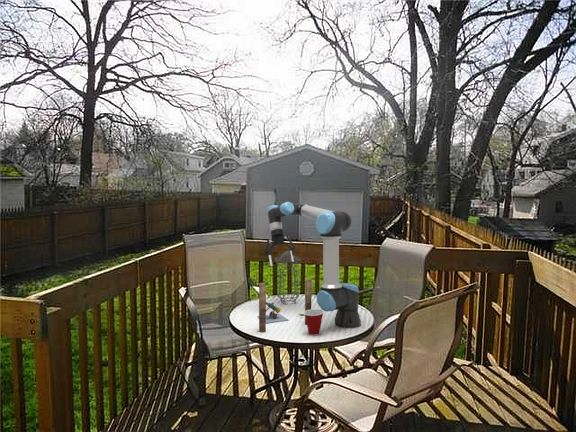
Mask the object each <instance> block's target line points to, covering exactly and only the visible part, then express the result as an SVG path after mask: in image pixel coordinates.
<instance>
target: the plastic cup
mask: <svg viewBox="0 0 576 432" xmlns="http://www.w3.org/2000/svg"><path fill="white" fill-rule="evenodd" d="M324 313H325V311H324V310H322V309H321V308H311V310H307V311H305V310H304V311H303V315H304V318H305V317H306V321H307V325H306V326H307V331H308V334H309V335H311V336H319V334H320V332H321V327H322V322H323V315H324Z"/></svg>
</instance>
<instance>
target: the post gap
mask: <svg viewBox="0 0 576 432" xmlns="http://www.w3.org/2000/svg"><path fill="white" fill-rule="evenodd" d="M304 282H305V283H304V285H305V286H304V312H305V311H307V310H311V309H312V285H313V284H312V283H313V279H312V278H305V279H304ZM258 294H259V295H258V316H259V318H258V332H260V333H266V331H267V330H266V329H267V328H266V327H267V326H266V325H267V324H266V315H267V311H266V307H267V305H266V302H267V284H266V283H265V282H259V283H258ZM304 325H305V326H307V321H306V317H305V316H304Z"/></svg>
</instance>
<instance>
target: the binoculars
mask: <svg viewBox="0 0 576 432" xmlns="http://www.w3.org/2000/svg"><path fill="white" fill-rule="evenodd" d="M274 304H275V303H274V302H267V301H266V307H267V309H266V312H267V311H268V310H270V309H271V311H270V312H269V313H268V315H270V316H271V317H273V318H274V319H276V318H277V313H279V314H280V312H281V310H282V308H281V307H278V306H276V305H274ZM271 317H269V318H266V319H270V318H271Z"/></svg>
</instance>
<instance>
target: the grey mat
mask: <svg viewBox="0 0 576 432" xmlns="http://www.w3.org/2000/svg"><path fill="white" fill-rule="evenodd" d="M276 314H277V318H276V319H274V318H273V317H271V316H270V315H269V314H266V318H269V317H271V318H270V319H266V325H267V324H274V323H282V322H287V321H289V318H288V317H287V318H286V317H285V316H283V314H280V312H279V313H277V312H276ZM257 318H258V319H259V315H257Z"/></svg>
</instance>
